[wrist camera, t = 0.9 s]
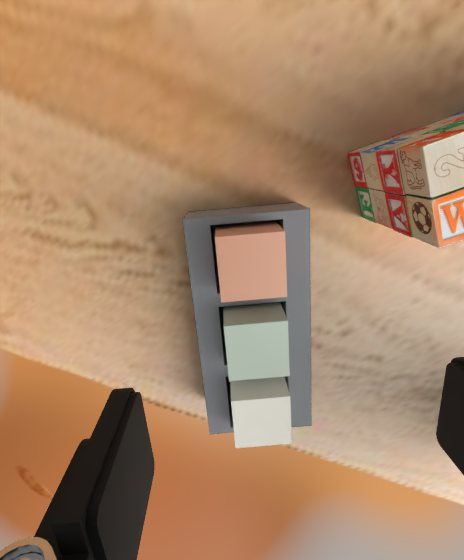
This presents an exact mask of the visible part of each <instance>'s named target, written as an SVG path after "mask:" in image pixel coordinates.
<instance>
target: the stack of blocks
mask: <svg viewBox="0 0 464 560" xmlns="http://www.w3.org/2000/svg"><path fill="white" fill-rule="evenodd" d="M348 158H349V162H350V167H351V171H352V175H353V180H354V184H355V186H356V190H357V195H358V199H359V204H360V208H361V212H362V217H363V218H365V219H368V220H370V221H372V222H375V223H379V224H382V225H384V226H386V227H389V228H392V229H393V230H395V231H397V232H399V233H402V234H404V235H407V236H409V237H414V238H417V239H419V240H421V241H423V242H426V243H428V244H431V245H433V246H435V247H438V248H441V247H444V246H447V245H450V244H453V243H456V242H459V241H461V240H464V112H461V113H458V114H456V115H453V116H451V117H448V118H445V119H443V120H440V121H437V122H434V123H432V124H429V125H426V126H424V127H421V128H418V129H413V130H410V131H407V132H405V133H402V134H399V135H396V136H394V137H391V138H388V139H385V140H383V141H379V142H376V143H373V144H370V145H368V146H365V147H362V148H359V149H357V150H354V151H351V152H349V153H348Z"/></svg>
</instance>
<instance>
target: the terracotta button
mask: <svg viewBox="0 0 464 560" xmlns="http://www.w3.org/2000/svg"><path fill="white" fill-rule="evenodd" d="M215 244H216V255H217V265H218V275H219V285H220V295H221V303H222V302H234V301H245V300H257V299H268V298H280V297H287V273H286V241H285V231H284V230H283V229H282V228H281V226H280V225H279V224H278V223H277V222H276V221H265V222H253V223H241V224H230V225H218V226H216V230H215Z"/></svg>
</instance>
